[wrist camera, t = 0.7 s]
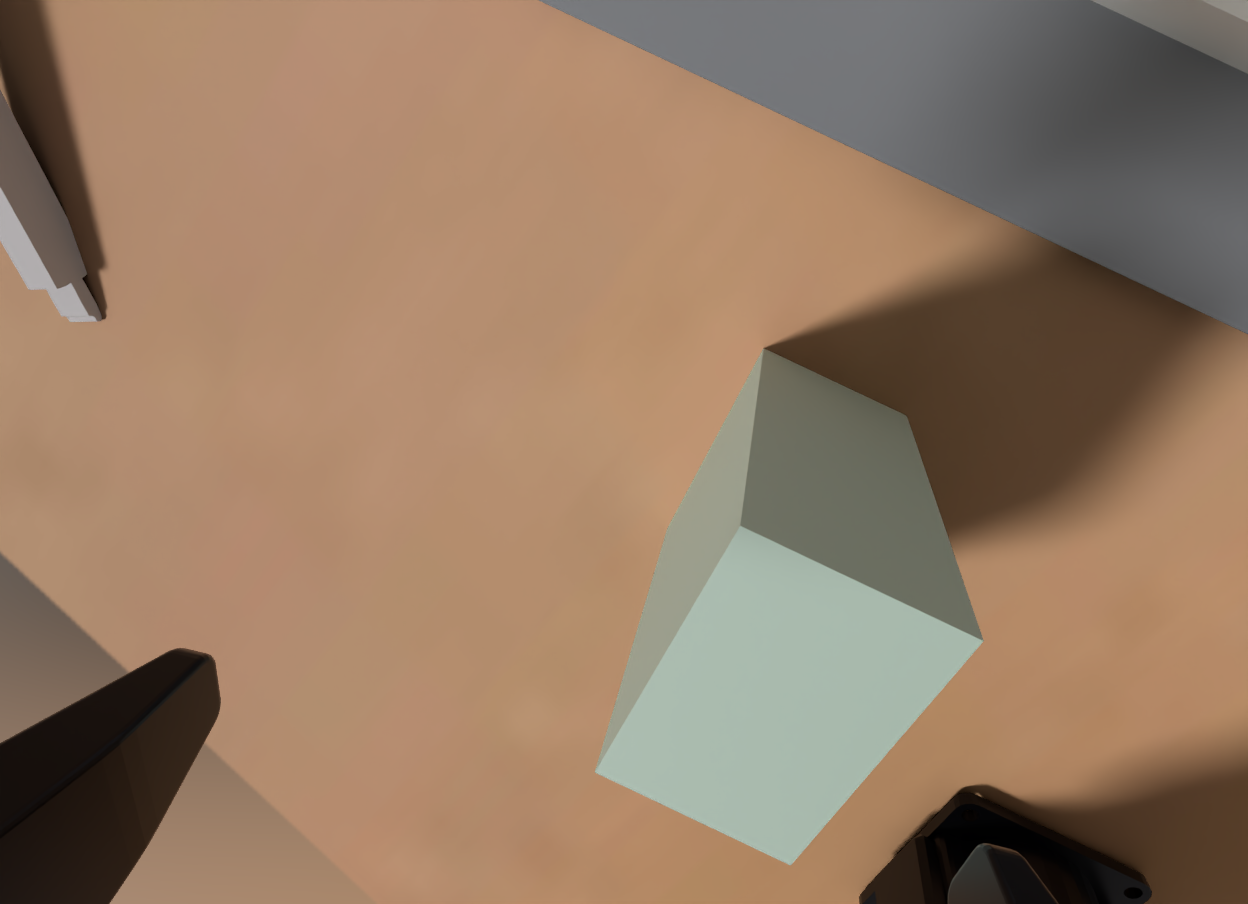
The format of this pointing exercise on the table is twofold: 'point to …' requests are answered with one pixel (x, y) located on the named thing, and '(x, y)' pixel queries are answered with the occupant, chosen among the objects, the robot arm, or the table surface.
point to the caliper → (39, 227)
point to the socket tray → (1011, 111)
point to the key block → (790, 616)
